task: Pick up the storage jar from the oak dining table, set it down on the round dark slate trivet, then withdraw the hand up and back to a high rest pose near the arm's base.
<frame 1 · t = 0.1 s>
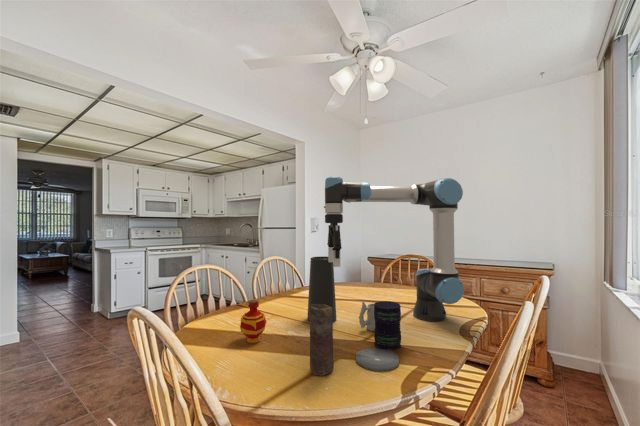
hand: (334, 264, 129), 28 cm above the table, fingers open, 13 cm apart
potion bottle: (253, 340, 119), on the table
mug: (371, 329, 131), on the table
candle: (321, 371, 95), on the table
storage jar: (387, 345, 114), on the table
vase: (321, 319, 144), on the table
trivet: (377, 360, 101), on the table
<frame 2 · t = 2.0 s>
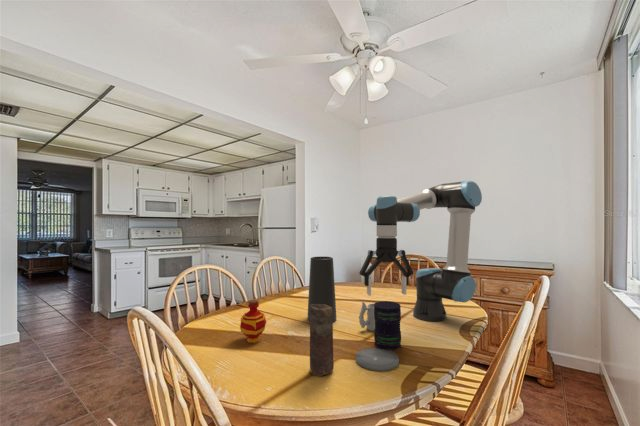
hand: (386, 294, 114), 19 cm above the table, fingers open, 13 cm apart
nothing on the table moved.
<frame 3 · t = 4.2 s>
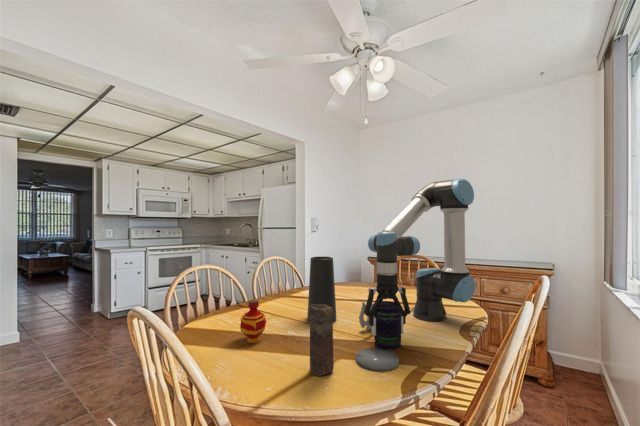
hand: (387, 333, 114), 4 cm above the table, fingers closed on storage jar, 10 cm apart
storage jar: (387, 345, 114), on the table, touching gripper
everything else where it was.
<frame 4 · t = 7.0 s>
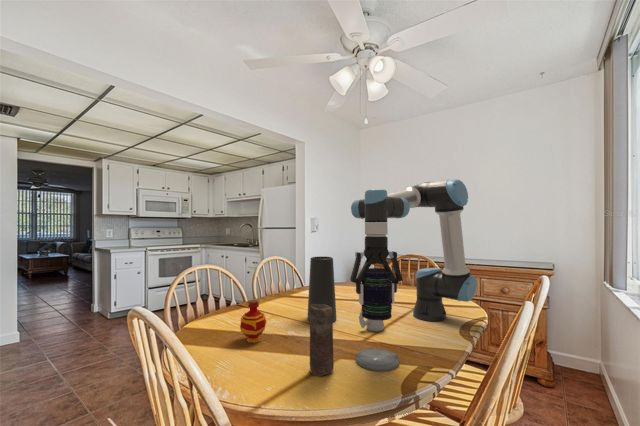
hand: (376, 303, 102), 19 cm above the table, fingers closed on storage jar, 10 cm apart
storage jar: (376, 316, 101), point 15 cm above the table, touching gripper
everything else where it was.
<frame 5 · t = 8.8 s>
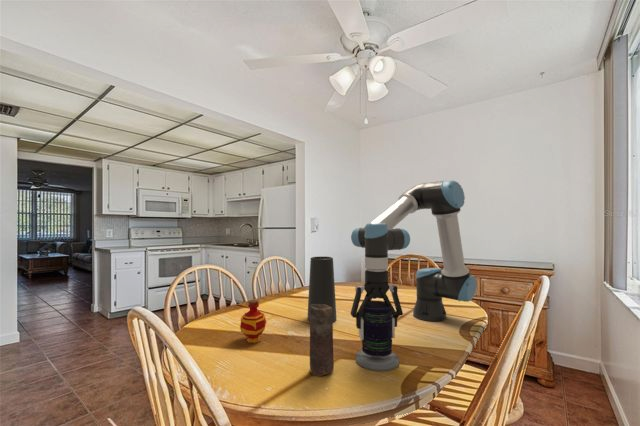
hand: (376, 337, 101), 8 cm above the table, fingers closed on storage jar, 10 cm apart
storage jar: (376, 350, 101), point 3 cm above the table, touching gripper
everything else where it was.
when the fingers open (6 cm above the table, at t = 10.1 s): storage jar stays where it is, resting on trivet.
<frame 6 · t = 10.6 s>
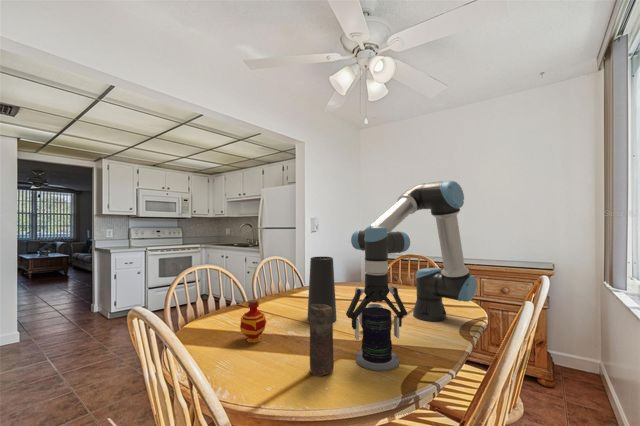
hand: (376, 337, 101), 8 cm above the table, fingers open, 13 cm apart
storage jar: (376, 357, 101), point 1 cm above the table, touching trivet
everything else where it was.
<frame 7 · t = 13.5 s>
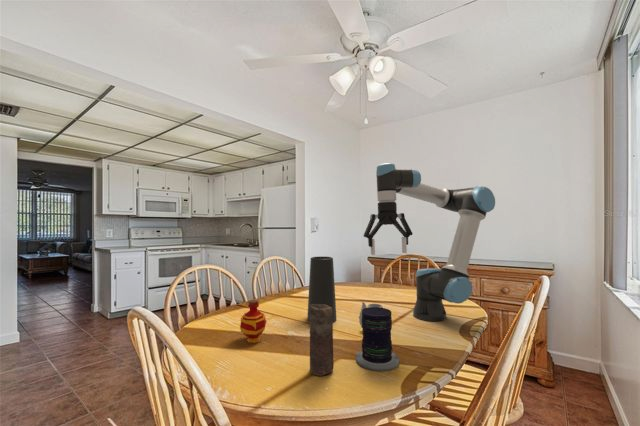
hand: (388, 254, 125), 33 cm above the table, fingers open, 13 cm apart
nothing on the table moved.
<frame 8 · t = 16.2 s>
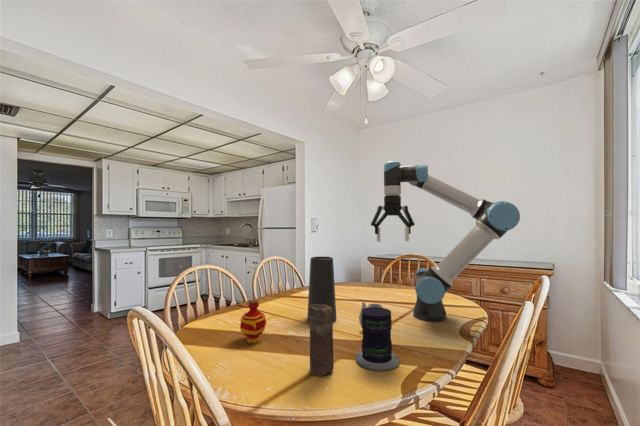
hand: (392, 241, 141), 37 cm above the table, fingers open, 13 cm apart
nothing on the table moved.
at the end: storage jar 0.1 cm from the trivet (horizontally); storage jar tilted 0°; the gripper is holding nothing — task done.
